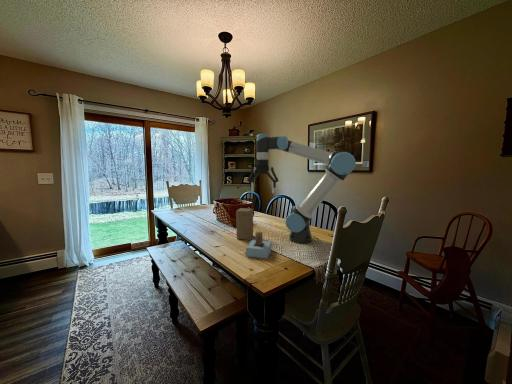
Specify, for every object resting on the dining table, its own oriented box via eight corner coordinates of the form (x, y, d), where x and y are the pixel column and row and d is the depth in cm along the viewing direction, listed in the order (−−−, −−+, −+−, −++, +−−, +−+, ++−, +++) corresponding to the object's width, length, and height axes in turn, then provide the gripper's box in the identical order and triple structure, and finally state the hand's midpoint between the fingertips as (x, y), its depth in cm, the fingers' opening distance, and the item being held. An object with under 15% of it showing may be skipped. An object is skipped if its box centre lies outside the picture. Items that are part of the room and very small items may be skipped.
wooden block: (250, 240, 139) (250, 211, 136) (236, 239, 141) (235, 210, 138) (253, 235, 148) (253, 208, 146) (240, 234, 150) (239, 207, 148)
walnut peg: (263, 251, 120) (263, 232, 118) (261, 254, 116) (261, 234, 114) (256, 251, 121) (256, 231, 119) (254, 254, 117) (254, 233, 115)
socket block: (271, 249, 123) (271, 241, 122) (267, 258, 111) (267, 249, 110) (252, 247, 126) (252, 240, 125) (246, 256, 114) (246, 247, 114)
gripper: (283, 159, 130) (282, 192, 132) (245, 159, 136) (246, 191, 139) (281, 158, 122) (281, 194, 125) (241, 159, 129) (242, 192, 132)
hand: (262, 192), depth 132 cm, fingers open, 13 cm apart
